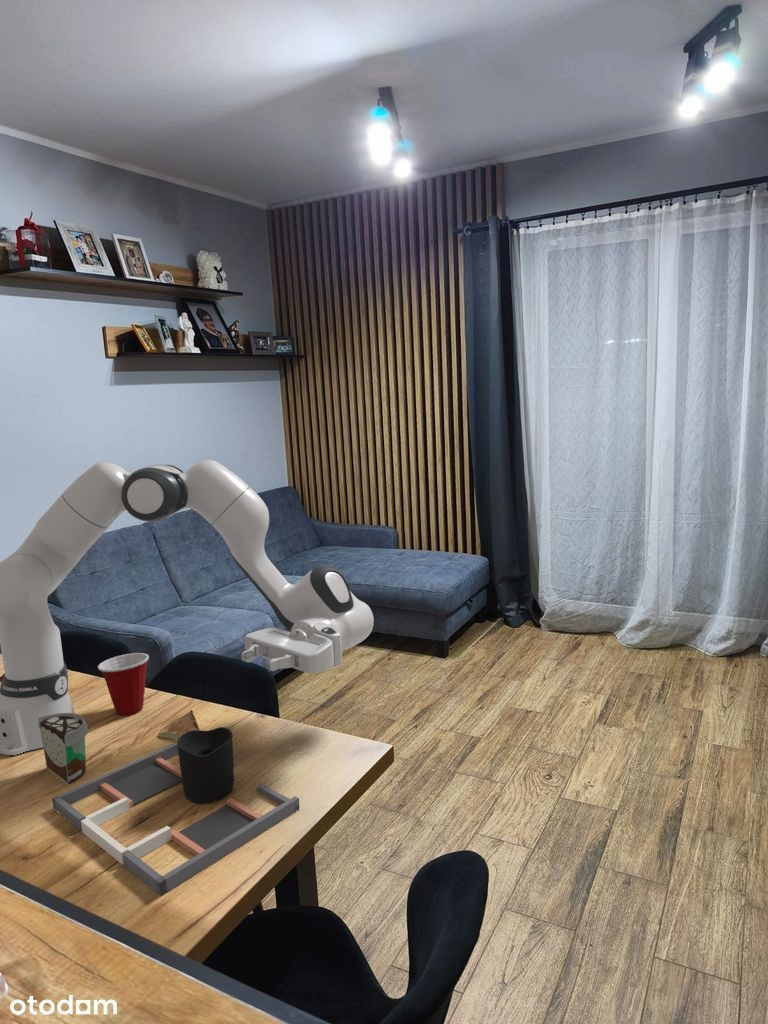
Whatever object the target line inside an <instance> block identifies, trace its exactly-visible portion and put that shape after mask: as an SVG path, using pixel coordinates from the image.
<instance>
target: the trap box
mask: <svg viewBox="0 0 768 1024" xmlns="http://www.w3.org/2000/svg"><path fill="white" fill-rule="evenodd" d="M177 755H179V754H178V746H177V741H176V742H173V743H172V744H169V745H166V746H165V747H163V748H160V749H157V750H155V751H154V752H151V753H149V754H147V755H145V756H142V757H140V758H137V759H135V760H134V761H131V762H129V763H127V764H124V765H122V766H120V767H118V768H116V769H114V770H111V771H109V772H107V773H105V774H103V775H101V776H97V777H96V778H94V779H91V780H89V781H87V782H85V783H82V784H80V785H77V786H76V787H73V788H72V789H70V790H67V791H64V792H62V793H61V794H58V795H55V796H54V797H52V798H51V801H52V807H53V808H54V809H55V810H54V809H53V810H54V811H55V812H57V811H58V812H59V813H60V814H61V816H62V815H63V816H64V817H65V818H66V819H65V818H64V817H63V816H62V817H63V818H64V819H65V820H67V821H68V820H69V821H70V822H71V823H70V822H69V821H68V822H69V823H70V824H72V825H73V826H74V825H75V826H76V827H75V826H74V827H75V828H77V829H78V830H79V831H80V830H81V831H82V827H81V820H83V819H85V817H86V815H84V814H83V813H81V812H80V811H79V810H78V809H76V808H75V807H74V806H72V804H74V803H76V802H78V801H81V800H83V799H84V798H86V797H89V796H91V795H94V794H95V793H97V792H100V791H102V792H103V793H104V794H106V795H107V796H109V797H110V798H112V799H113V800H114V801H115V802H116V801H119V800H121V799H123V798H125V797H126V798H127V799H128V801H129V809H131V808H132V807H135V806H136V805H138V804H141V803H143V802H145V801H146V800H148V799H150V798H153V797H155V796H157V795H159V794H161V793H163V792H164V791H167V790H168V789H170V788H173V787H175V786H176V785H179V784H181V783H182V776H181V768H180V767H178V766H176V765H174V764H173V763H171V762H169V761H167V760H169V759H170V758H172V757H175V756H177ZM256 792H257V793H259V794H261V795H263V796H265V797H266V798H268V799H270V800H271V801H274V802H276V803H278V804H279V805H278V806H276V807H275V808H272V809H271V810H270V811H267V812H266V813H264V814H263V815H262V814H260V813H258V811H255V810H253V809H252V808H249V807H248V806H246V805H244V804H243V803H241V802H239V801H238V800H235V799H234V798H232V797H231V798H229V799H227V800H226V804H225V805H224V806H222V807H220V808H218V809H217V810H215V811H214V812H211V813H210V814H208V815H206V816H204V817H202V818H201V819H199V820H196V821H195V822H194V823H192V824H190V825H187V826H186V827H185V828H183V829H181V830H179V831H178V830H176V829H173V830H171V836H172V840H171V841H173V842H175V843H176V844H178V845H179V846H180V847H181V848H183V849H185V850H186V851H187V852H189V853H190V854H192V855H193V857H191V858H190V859H188V860H187V861H184V862H183V863H182V864H180V865H178V866H177V867H175V868H173V869H171V870H170V871H168V872H166V873H165V874H164V875H161V873H159V872H157V871H156V870H155V869H154V868H152V867H151V866H150V865H149V864H147V863H146V862H145V861H143V860H142V859H141V858H138V857H137V856H136V855H134V854H133V853H132V852H130V851H128V852H126V853H125V854H123V856H124V865H123V866H124V868H126V869H127V870H128V871H129V872H130V873H133V875H134V876H136V878H138V879H139V880H141V881H142V882H143V883H144V884H145V885H147V886H148V887H150V888H151V889H152V890H153V891H154V892H156V893H157V895H159V896H163V895H165V894H167V893H169V892H170V891H171V890H173V889H174V888H176V887H178V886H179V885H180V884H182V883H185V881H187V880H189V879H190V878H192V877H194V876H195V875H197V874H198V873H200V872H202V871H203V870H204V869H207V868H208V867H210V866H211V865H213V864H214V863H216V862H217V861H219V860H221V859H222V858H224V857H226V856H227V855H229V854H231V853H232V852H234V851H235V850H236V849H238V848H240V847H242V846H243V845H245V844H246V843H248V842H249V841H251V840H253V839H255V838H256V837H258V836H259V835H261V834H262V833H264V832H265V831H267V830H269V829H271V828H272V827H274V826H275V825H277V824H279V822H281V821H283V820H285V819H286V818H288V817H289V816H291V815H293V814H294V813H296V812H297V811H299V810H300V809H299V808H301V807H300V797H298V796H295V795H294V796H292V797H291V798H289V797H288V796H285V795H284V794H282V793H280V792H278V791H275V790H274V789H272V788H270V787H268V786H266V785H264V784H263V783H260V784H258V785H256ZM298 809H299V810H298ZM296 810H297V811H296ZM295 811H296V812H295ZM58 812H57V813H58ZM293 812H294V813H293ZM59 813H58V814H59ZM292 813H293V814H292ZM60 814H59V815H60Z"/></svg>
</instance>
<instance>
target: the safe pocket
mask: <svg viewBox="0 0 768 1024" xmlns="http://www.w3.org/2000/svg"><path fill="white" fill-rule="evenodd" d="M128 811H130V808H129V801H128V799H127V798H126V797H125V798H123V799H121V800H119V801H116V800H115V801H114V802H113V803H111V804H109V805H107V806H104V807H103V808H100V809H98V810H96V811H94V812H92V813H90V814H88V815H85V819H83V820H81V827H82V830H81V832H82V833H83V834H84V835H85V836H86V837H87V838H88V839H90V840H91V841H93V842H94V843H95V844H96V845H98V846H99V848H101V849H102V850H104V851H105V852H106V853H107V854H109V855H110V856H111V857H113V858H114V859H115V860H116V861H117V862H118V863H120V864H121V865H122V866H125V865H124V856H123V854H125V853H126V852H128V851H130V852H132V853H133V854H134V855H136V856H137V857H138V858H139V859H141V858H142V857H143V856H146V855H147V854H149V853H151V852H153V851H155V850H156V849H159V848H160V847H162V846H164V845H165V844H166V843H168V842H170V841H173V840H172V836H171V832H172V827H170V826H168V825H166V826H164V827H162V828H160V829H159V830H157V831H155V832H153V833H152V834H151V833H150V834H149V835H147V836H146V837H144V838H142V839H140V840H138V841H136V842H135V843H133V844H131V845H129V846H128V847H125V846H124V845H123V844H121V843H120V842H119V841H118V840H116V839H115V838H114V837H112V836H111V835H110V834H108V833H107V832H106V831H104V830H103V829H102V828H100V827H99V826H100V825H103V824H105V823H107V822H109V821H110V820H112V819H114V818H116V817H118V816H120V815H123V814H124V813H127V812H128Z"/></svg>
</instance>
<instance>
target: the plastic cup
mask: <svg viewBox="0 0 768 1024" xmlns="http://www.w3.org/2000/svg"><path fill="white" fill-rule="evenodd" d="M149 659H150V656H149V654H147V653H143V652H134V653H133V652H132V653H126V654H122V655H117V656H114V657H110V658H108V659H105V660H104V661H102V662H100V663H99V664H98V665H97V669H98V671H100V672H101V674H102V676H103V679H104V681H105V683H106V686H107V689H108V692H109V696H110V699H111V701H112V705H113V708H114V712H115V713H116V715H118V716H123V717H125V716H131V715H135V714H137V713H139V712H141V711H142V709H144V700H145V699H144V697H145V690H146V689H145V688H146V677H147V676H146V675H147V674H146V673H147V666H148V661H149Z"/></svg>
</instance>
